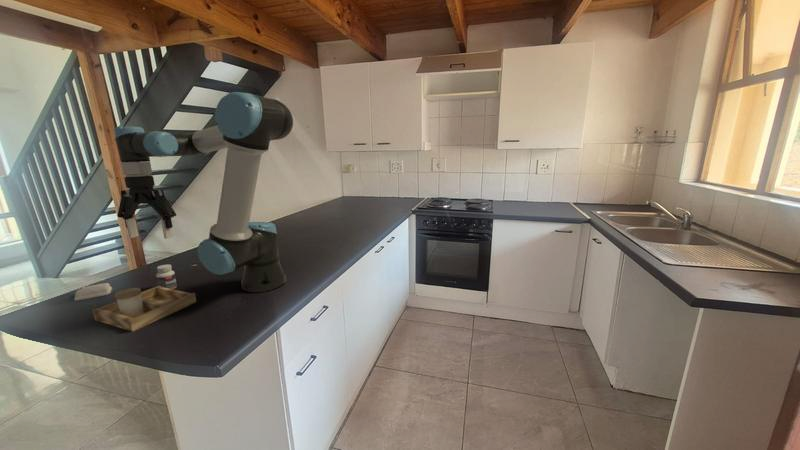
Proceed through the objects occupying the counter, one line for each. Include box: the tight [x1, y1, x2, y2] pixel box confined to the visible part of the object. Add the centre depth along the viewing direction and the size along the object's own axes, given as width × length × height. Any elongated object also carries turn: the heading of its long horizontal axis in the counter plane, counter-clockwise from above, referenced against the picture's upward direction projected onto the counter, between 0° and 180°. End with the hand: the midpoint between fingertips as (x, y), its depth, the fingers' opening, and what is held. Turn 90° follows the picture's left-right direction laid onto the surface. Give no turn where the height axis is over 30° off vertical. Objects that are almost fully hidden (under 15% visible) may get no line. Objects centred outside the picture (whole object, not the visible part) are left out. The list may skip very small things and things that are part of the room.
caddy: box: [91, 285, 197, 332], centre depth 95 cm, size 17×18×4 cm
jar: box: [114, 287, 145, 318], centre depth 90 cm, size 6×6×8 cm
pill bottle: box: [155, 263, 178, 290], centre depth 110 cm, size 5×5×9 cm
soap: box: [74, 282, 113, 301], centre depth 108 cm, size 9×7×3 cm
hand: (151, 237), depth 109 cm, fingers open, 13 cm apart
